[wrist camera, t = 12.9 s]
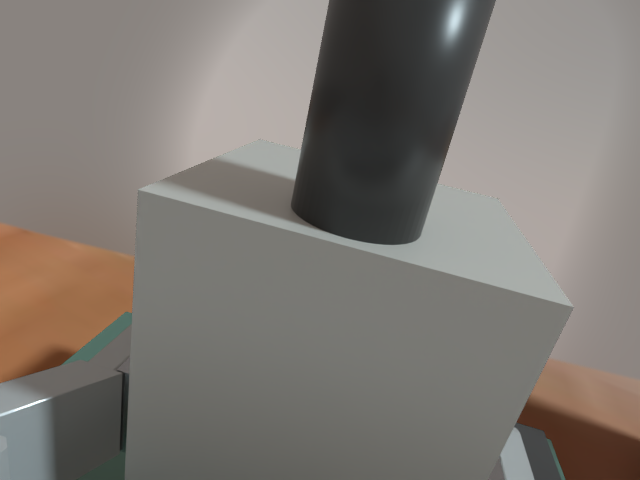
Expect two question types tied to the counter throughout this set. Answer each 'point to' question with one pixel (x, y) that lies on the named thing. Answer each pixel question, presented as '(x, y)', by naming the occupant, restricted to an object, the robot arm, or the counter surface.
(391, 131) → the plug
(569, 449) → the counter surface
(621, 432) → the counter surface
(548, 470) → the board
